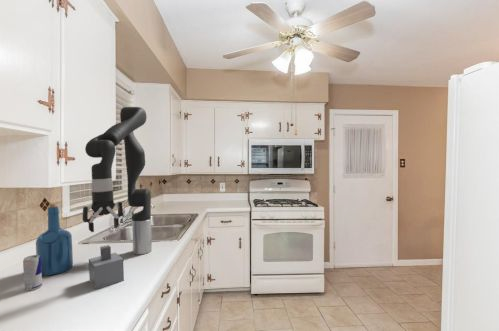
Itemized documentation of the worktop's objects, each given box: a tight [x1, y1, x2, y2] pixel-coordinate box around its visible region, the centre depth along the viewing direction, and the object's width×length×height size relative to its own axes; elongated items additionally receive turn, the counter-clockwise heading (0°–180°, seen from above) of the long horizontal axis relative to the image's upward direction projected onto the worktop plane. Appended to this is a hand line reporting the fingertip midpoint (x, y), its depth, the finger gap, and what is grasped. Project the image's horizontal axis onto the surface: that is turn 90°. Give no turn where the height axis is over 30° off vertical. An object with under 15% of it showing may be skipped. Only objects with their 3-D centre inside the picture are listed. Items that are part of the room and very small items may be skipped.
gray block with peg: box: [88, 244, 125, 290], centre depth 108 cm, size 10×10×14 cm
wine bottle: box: [35, 203, 74, 276], centre depth 119 cm, size 14×13×30 cm
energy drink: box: [22, 254, 43, 292], centre depth 103 cm, size 5×5×12 cm
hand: (104, 229), depth 108 cm, fingers open, 8 cm apart
